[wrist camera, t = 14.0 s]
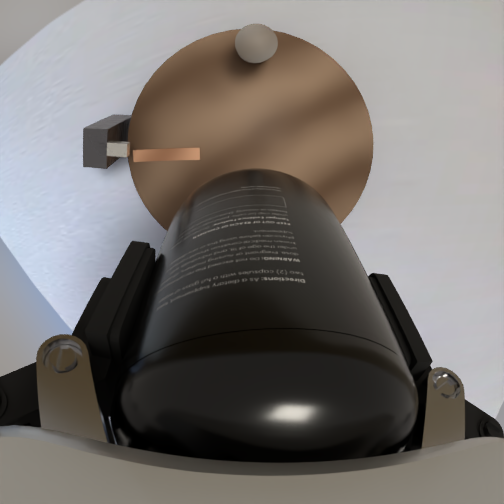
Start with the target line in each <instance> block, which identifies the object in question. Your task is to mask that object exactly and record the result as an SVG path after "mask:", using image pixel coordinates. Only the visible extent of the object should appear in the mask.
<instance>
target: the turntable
mask: <svg viewBox="0 0 504 504" xmlns="http://www.w3.org/2000/svg"><path fill="white" fill-rule="evenodd" d="M128 142H130V154H129V156H128V162H129V166H130V171H131V176H132V179H133V181H134V184H135V187H136V190H137V192H138V194H139V196H140V198H141V199H142V201H143V203H144V205H145V206H146V208H147V209H148V211H149V212H150V213H151V215H152V216H153V217H154V218H155V219H156V220H157V222H158V223H159V224H160V225H161V226H162V227H163V228H164V229H166V230H167V231H168V229H169V227H170V225H171V222H172V220H173V218H174V216H175V214H176V212H177V211H178V209H179V207H180V206H181V204H182V203H183V202H184V201H185V199H186V198H187V197H188V196H189V195H190V194H191V193H192V192H193V191H194V190H195V189H197V188H198V187H199V186H201V185H202V184H204V183H205V182H207V181H209V180H211V179H213V178H214V177H217V176H219V175H222V174H224V173H228V172H231V171H235V170H241V169H251V168H261V169H270V170H275V171H280V172H283V173H286V174H289V175H292V176H294V177H296V178H299V179H300V180H302V181H304V182H306V183H307V184H308V185H310V186H311V187H313V188H314V189H315V190H316V191H317V192H318V193H319V194H320V195H321V196H322V197H323V198H324V199H325V201H326V202H327V203H328V205H329V206H330V207H331V209H332V211H333V212H334V214H335V216H336V217H337V219H338V221H339V223H340V224H341V223H342V222H343V221H344V219H345V218H346V217H347V216H348V215H349V213H350V212H351V211H352V209H353V208H354V206H355V205H356V203H357V202H358V200H359V198H360V196H361V194H362V192H363V190H364V188H365V186H366V183H367V180H368V176H369V173H370V169H371V164H372V158H373V133H372V125H371V121H370V117H369V113H368V110H367V107H366V105H365V102H364V100H363V97H362V95H361V93H360V92H359V90H358V88H357V86H356V85H355V83H354V82H353V80H352V79H351V78H350V76H349V75H348V74H347V73H346V71H345V70H344V69H343V68H342V67H341V66H340V65H339V64H338V63H337V62H336V61H335V60H334V59H333V58H332V57H330V56H329V55H328V54H326V53H325V52H323V51H322V50H321V49H319V48H318V47H316V46H314V45H312V44H310V43H308V42H306V41H305V40H303V39H300V38H297V37H295V36H292V35H289V34H286V33H282V32H277V31H273V30H272V29H270V28H269V27H267V26H265V25H262V24H250V25H247V26H245V27H244V28H242V29H238V30H229V31H225V32H220V33H216V34H212V35H210V36H207V37H204V38H202V39H199V40H197V41H195V42H193V43H191V44H189V45H188V46H186V47H184V48H182V49H181V50H179V51H178V52H177V53H175V54H174V55H173V56H171V57H170V58H169V59H167V60H166V61H165V62H164V63H163V64H162V65H161V66H160V67H159V68H158V69H157V71H156V72H155V73H154V74H153V75H152V77H151V78H150V79H149V81H148V82H147V84H146V85H145V87H144V88H143V90H142V92H141V94H140V96H139V98H138V100H137V102H136V105H135V107H134V110H133V113H132V116H131V121H130V125H129V130H128Z"/></svg>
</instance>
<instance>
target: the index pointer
mask: <svg viewBox="0 0 504 504" xmlns="http://www.w3.org/2000/svg"><path fill="white" fill-rule="evenodd" d="M130 121H131V115H111V116H109V117H107V118H105V119H102V120H100V121H98V122H96V123H94V124H91V125H89V126H87V127H85V128H84V129H83V167H92V168H104V169H107V168H108V167H109V166H110V165H111V164H113V163H114V162H115V161H116V160H117V159H119V158H120V157H128V156H129V154H130V142H128V130H129V125H130Z"/></svg>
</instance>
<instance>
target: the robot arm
mask: <svg viewBox="0 0 504 504" xmlns="http://www.w3.org/2000/svg"><path fill="white" fill-rule="evenodd" d="M154 265H155V249H154V248H150V244H149V243H144V242H137V241H132V242H131V243H130V245H129V247H128V248H127V250H126V252H125V254H124V256H123V257H122V259H121V261H120V263H119V265H118V266H117V268H116V270H115V272H114V274H113V276H112V278H106V277H104V278H102V279H101V280H100V282H99V284H98V285H97V287H96V289H95V291H94V293H93V295H92V296H91V298H90V300H89V302H88V304H87V306H86V308H85V310H84V312H83V314H82V315H81V317H80V319H79V321H78V323H77V325H76V327H75V329H74V331H73V333H72V335H68V334H67V335H66V334H64V335H63V334H60V335H56V336H53V337H51V338H49V339H47V340H46V341H45V342H44V343H43V344H42V345H41V346H40V348H39V350H38V351H37V357H36V362H35V363H32V364H30V365H28V366H25V367H23V368H21V369H18V370H16V371H13V372H11V373H9V374H6V375H4V376H1V377H0V504H504V434H503V430H502V427H501V426H500V424H499V423H498V422H497V421H496V420H495V419H494V418H493V417H491V416H490V415H488V414H487V413H485V412H483V411H482V410H480V409H479V408H477V407H476V406H474V405H473V404H471V403H470V402H468V401H467V400H465V396H464V387H463V384H462V382H461V380H460V378H459V377H458V376H457V375H456V374H455V373H454V372H452V371H451V370H449V369H447V368H443V367H437V368H434V369H432V368H431V366H430V364H431V363H432V362H433V361H432V359H431V357H430V355H429V353H428V351H427V349H426V347H425V345H424V342H423V340H422V338H421V336H420V334H419V332H418V330H417V328H416V327H415V325H414V323H413V321H412V319H411V317H410V315H409V313H408V311H407V309H406V307H405V305H404V304H403V302H402V300H401V298H400V296H399V294H398V293H397V291H396V289H395V287H394V285H393V284H392V282H391V280H390V278H389V277H388V275H384V274H376V273H372V274H370V275H369V277H368V278H369V280H370V282H371V284H372V286H373V288H374V290H375V292H376V294H377V296H378V298H379V300H380V302H381V304H382V306H383V309H384V311H385V313H386V315H387V317H388V319H389V321H390V324H391V326H392V328H393V330H394V332H395V335H396V337H397V339H398V341H399V344H400V346H401V348H402V351H403V353H404V355H405V358H406V360H407V363H408V365H409V368H410V370H411V373H412V376H413V379H414V382H415V385H416V388H417V392H418V402H419V404H418V414H417V420H416V424H415V427H414V430H413V433H412V436H411V438H410V440H409V442H408V444H407V445H406V447H405V448H404V450H403V451H402V453H396V454H390V455H383V456H376V457H368V458H359V459H349V460H338V461H324V462H302V463H258V462H236V461H221V460H210V459H200V458H191V457H183V456H176V455H169V454H163V453H157V452H151V451H145V450H140V449H134V448H129V447H124V446H119V445H117V443H116V441H115V438H114V435H113V431H112V427H111V420H110V411H111V404H112V399H113V394H114V389H115V385H116V381H117V377H118V374H119V371H120V367H121V364H122V360H123V357H124V354H125V350H126V347H127V344H128V341H129V338H130V334H131V331H132V328H133V325H134V322H135V319H136V316H137V313H138V310H139V307H140V304H141V301H142V298H143V296H144V293H145V290H146V287H147V284H148V281H149V279H150V276H151V273H152V270H153V268H154Z"/></svg>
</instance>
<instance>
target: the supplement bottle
mask: <svg viewBox="0 0 504 504" xmlns="http://www.w3.org/2000/svg"><path fill="white" fill-rule="evenodd" d="M418 404H419V402H418V392H417V388H416V385H415V382H414V379H413V376H412V373H411V370H410V368H409V365H408V363H407V360H406V358H405V355H404V353H403V351H402V348H401V346H400V344H399V341H398V339H397V337H396V335H395V332H394V330H393V328H392V326H391V324H390V321H389V319H388V317H387V315H386V313H385V311H384V309H383V306H382V304H381V302H380V300H379V298H378V296H377V294H376V292H375V290H374V288H373V286H372V284H371V282H370V280H369V278H368V276H367V274H366V272H365V270H364V268H363V266H362V264H361V262H360V260H359V258H358V256H357V254H356V252H355V250H354V248H353V246H352V245H351V243H350V241H349V239H348V237H347V235H346V233H345V231H344V230H343V228H342V226H341V225H340V223H339V221H338V219H337V217H336V216H335V214H334V212H333V211H332V209H331V207H330V206H329V205H328V203H327V202H326V201H325V199H324V198H323V197H322V196H321V195H320V194H319V193H318V192H317V191H316V190H315V189H314V188H313V187H311V186H310V185H308V184H307V183H306V182H304V181H302V180H300V179H299V178H296V177H294V176H292V175H289V174H286V173H283V172H280V171H275V170H270V169H261V168H251V169H241V170H235V171H231V172H228V173H224V174H222V175H219V176H217V177H214V178H213V179H211V180H209V181H207V182H205V183H204V184H202V185H201V186H199V187H198V188H197V189H195V190H194V191H193V192H192V193H191V194H190V195H189V196H188V197H187V198H186V199H185V201H184V202H183V203H182V204H181V206H180V207H179V209H178V211H177V212H176V214H175V216H174V218H173V220H172V222H171V225H170V227H169V229H168V231H167V234H166V236H165V239H164V241H163V244H162V246H161V249H160V252H159V254H158V257H157V260H156V262H155V265H154V268H153V270H152V273H151V276H150V279H149V281H148V284H147V287H146V290H145V293H144V296H143V298H142V301H141V304H140V307H139V310H138V313H137V316H136V319H135V322H134V325H133V328H132V331H131V334H130V338H129V341H128V344H127V347H126V350H125V354H124V357H123V360H122V364H121V367H120V371H119V374H118V377H117V381H116V385H115V389H114V394H113V399H112V404H111V411H110V420H111V427H112V431H113V435H114V438H115V441H116V443H117V445H119V446H124V447H129V448H134V449H140V450H145V451H151V452H157V453H163V454H169V455H176V456H183V457H191V458H200V459H210V460H221V461H236V462H258V463H302V462H324V461H338V460H349V459H359V458H368V457H376V456H383V455H390V454H396V453H402V451H403V450H404V448H405V447H406V445H407V444H408V442H409V440H410V438H411V436H412V433H413V430H414V427H415V424H416V420H417V414H418Z"/></svg>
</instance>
